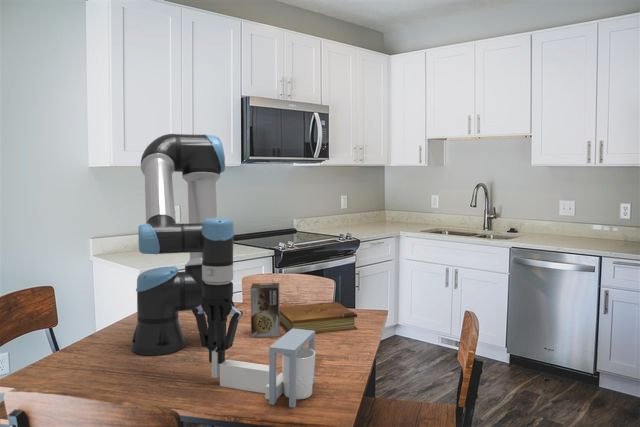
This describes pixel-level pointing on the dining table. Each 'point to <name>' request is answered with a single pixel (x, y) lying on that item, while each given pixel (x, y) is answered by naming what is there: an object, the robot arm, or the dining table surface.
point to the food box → (265, 310)
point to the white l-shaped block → (249, 377)
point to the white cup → (300, 373)
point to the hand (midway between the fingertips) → (216, 375)
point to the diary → (317, 317)
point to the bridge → (289, 346)
